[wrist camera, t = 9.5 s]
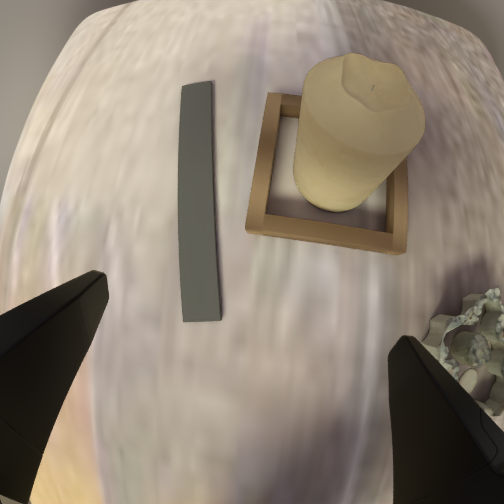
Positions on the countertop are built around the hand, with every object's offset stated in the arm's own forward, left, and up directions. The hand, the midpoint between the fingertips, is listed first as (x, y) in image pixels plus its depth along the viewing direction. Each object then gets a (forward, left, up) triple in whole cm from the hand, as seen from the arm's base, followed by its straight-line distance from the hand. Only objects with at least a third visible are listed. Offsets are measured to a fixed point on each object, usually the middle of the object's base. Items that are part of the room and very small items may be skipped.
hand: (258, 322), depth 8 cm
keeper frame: (+1, -10, -10) cm, 14 cm away
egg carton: (-15, -4, -11) cm, 19 cm away
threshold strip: (+8, -4, -10) cm, 14 cm away
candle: (+1, -9, -10) cm, 14 cm away
